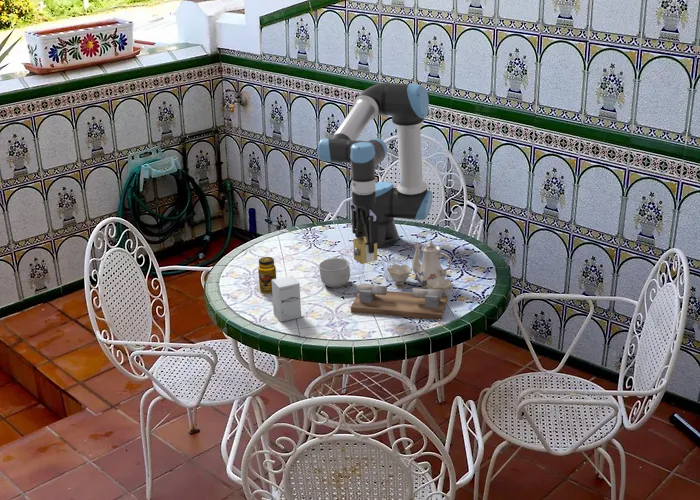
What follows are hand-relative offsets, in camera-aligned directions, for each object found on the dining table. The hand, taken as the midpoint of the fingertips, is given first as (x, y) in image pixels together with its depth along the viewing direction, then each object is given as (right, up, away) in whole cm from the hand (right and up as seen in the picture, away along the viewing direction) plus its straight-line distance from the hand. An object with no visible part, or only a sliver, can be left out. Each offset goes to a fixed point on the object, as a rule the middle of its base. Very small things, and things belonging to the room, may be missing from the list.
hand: (365, 258), depth 277 cm
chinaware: (+21, -10, +18) cm, 30 cm away
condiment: (-34, -11, +20) cm, 41 cm away
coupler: (0, 0, 0) cm, 0 cm away
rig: (+11, -16, +4) cm, 20 cm away
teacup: (-10, -9, +23) cm, 27 cm away
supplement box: (-26, -19, +1) cm, 32 cm away
